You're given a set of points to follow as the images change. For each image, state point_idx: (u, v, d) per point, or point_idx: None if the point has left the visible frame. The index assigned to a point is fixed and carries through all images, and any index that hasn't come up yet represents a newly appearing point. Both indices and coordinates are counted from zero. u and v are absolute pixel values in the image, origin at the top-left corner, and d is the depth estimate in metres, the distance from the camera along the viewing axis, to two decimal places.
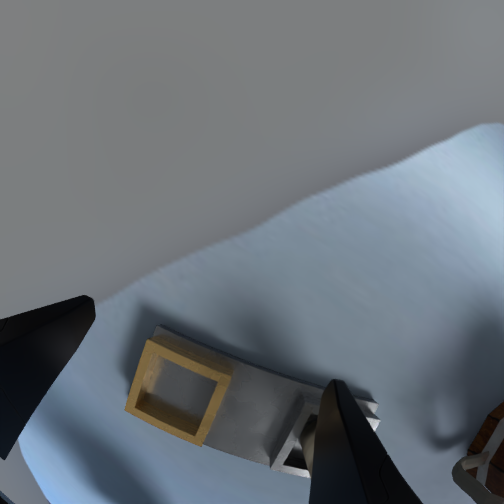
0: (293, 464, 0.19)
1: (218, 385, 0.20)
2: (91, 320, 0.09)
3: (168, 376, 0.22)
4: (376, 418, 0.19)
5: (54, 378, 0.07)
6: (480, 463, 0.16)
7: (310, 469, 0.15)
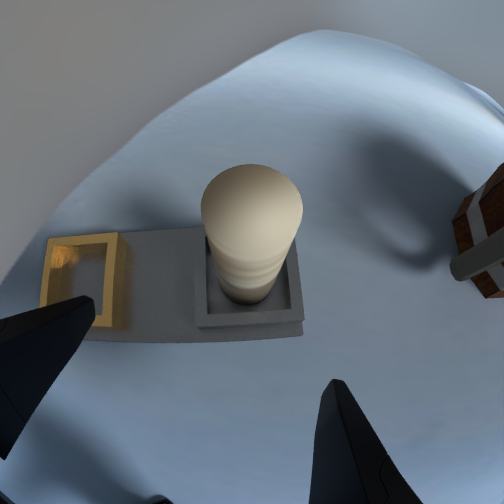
0: None
1: (108, 245, 0.20)
2: (91, 320, 0.09)
3: (74, 277, 0.21)
4: None
5: (54, 378, 0.07)
6: None
7: None
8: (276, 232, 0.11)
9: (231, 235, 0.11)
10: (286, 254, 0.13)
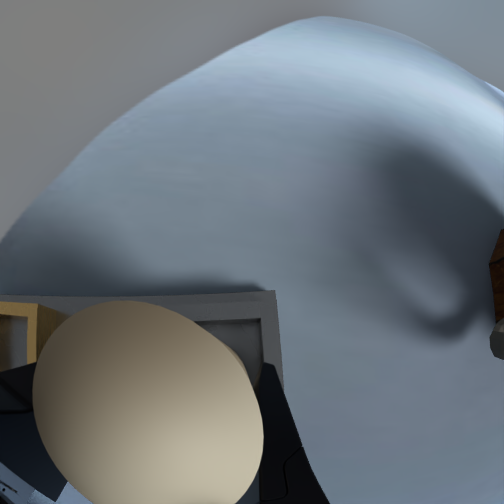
0: None
1: (28, 321, 0.12)
2: None
3: (7, 347, 0.13)
4: None
5: None
6: None
7: None
8: (190, 499, 0.03)
9: (94, 485, 0.03)
10: None
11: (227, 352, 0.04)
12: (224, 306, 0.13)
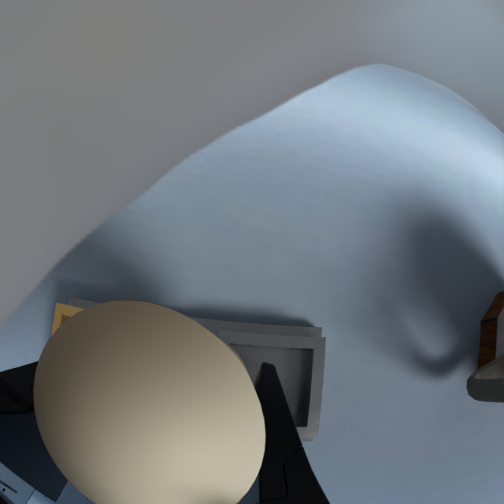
0: None
1: None
2: None
3: None
4: None
5: None
6: (500, 371, 0.16)
7: None
8: (192, 499, 0.03)
9: (95, 485, 0.03)
10: None
11: (229, 352, 0.04)
12: (290, 338, 0.18)
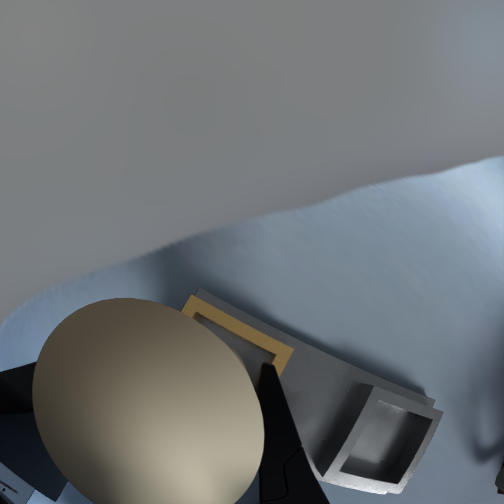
0: (348, 472, 0.14)
1: (276, 359, 0.16)
2: None
3: None
4: None
5: None
6: None
7: None
8: (191, 498, 0.03)
9: (94, 484, 0.03)
10: None
11: (228, 350, 0.04)
12: (422, 406, 0.15)
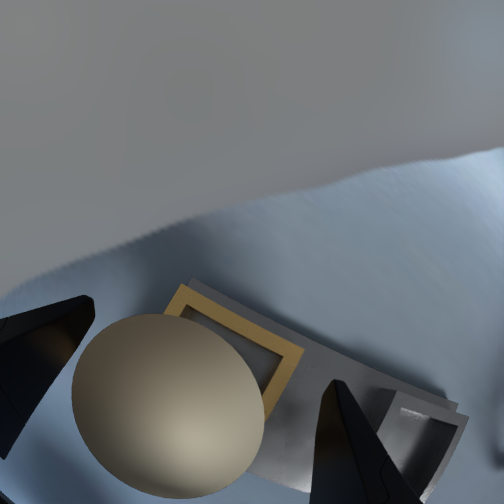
0: None
1: (283, 362, 0.13)
2: (91, 320, 0.09)
3: None
4: (464, 415, 0.12)
5: (53, 378, 0.07)
6: None
7: None
8: (206, 472, 0.04)
9: (126, 466, 0.04)
10: None
11: (236, 353, 0.05)
12: (448, 412, 0.12)
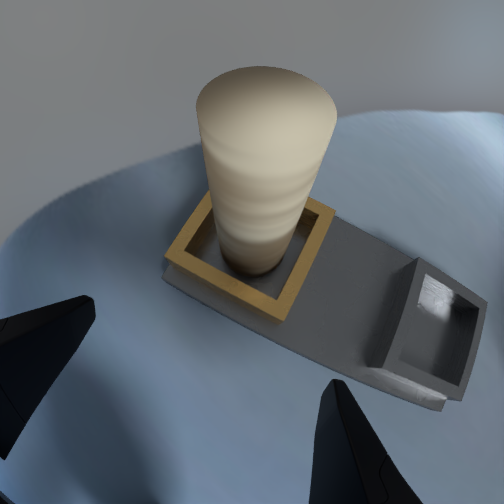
0: None
1: (319, 219, 0.16)
2: (91, 320, 0.09)
3: None
4: None
5: (54, 379, 0.07)
6: None
7: (213, 209, 0.12)
8: (304, 131, 0.07)
9: (239, 132, 0.07)
10: (311, 186, 0.10)
11: None
12: (467, 290, 0.15)
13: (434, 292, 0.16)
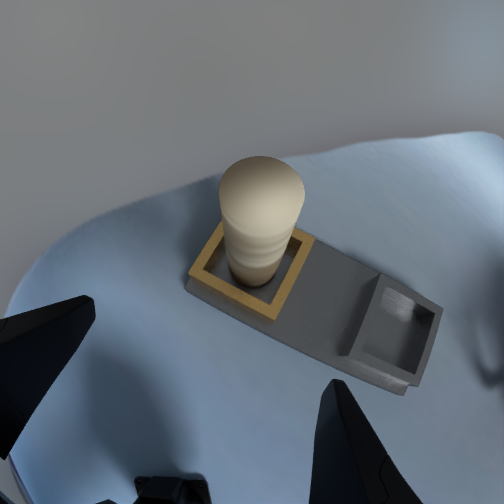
0: None
1: (302, 245, 0.22)
2: (91, 320, 0.09)
3: None
4: None
5: (54, 378, 0.07)
6: None
7: (225, 244, 0.18)
8: (282, 212, 0.13)
9: (245, 214, 0.12)
10: (290, 234, 0.15)
11: (292, 168, 0.13)
12: (423, 299, 0.21)
13: (396, 299, 0.22)
